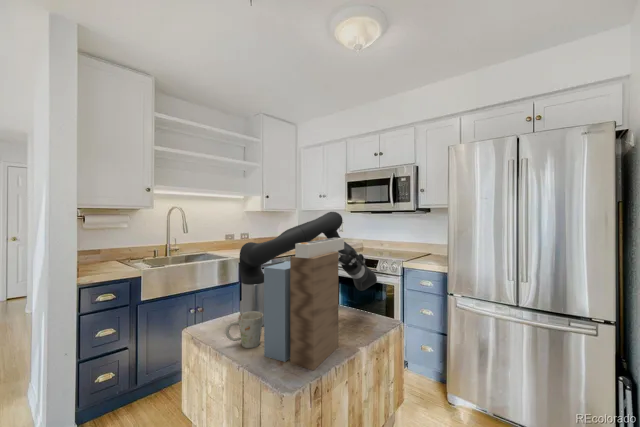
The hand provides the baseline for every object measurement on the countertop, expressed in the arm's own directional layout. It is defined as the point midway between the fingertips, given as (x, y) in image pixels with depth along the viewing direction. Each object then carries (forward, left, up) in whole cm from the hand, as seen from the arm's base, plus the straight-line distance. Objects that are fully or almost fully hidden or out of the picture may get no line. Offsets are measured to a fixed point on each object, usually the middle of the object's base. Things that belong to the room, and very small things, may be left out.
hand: (339, 250), depth 110 cm
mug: (-25, -24, -31) cm, 47 cm away
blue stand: (-10, -18, -31) cm, 38 cm away
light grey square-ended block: (0, -14, +1) cm, 14 cm away
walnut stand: (0, -18, -31) cm, 36 cm away
